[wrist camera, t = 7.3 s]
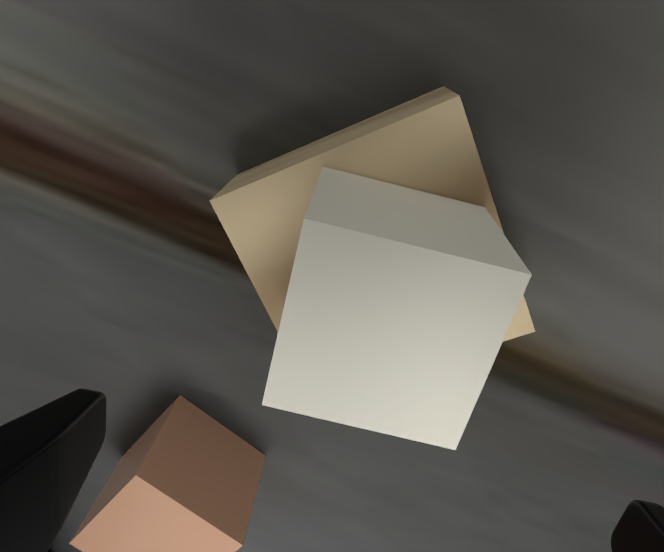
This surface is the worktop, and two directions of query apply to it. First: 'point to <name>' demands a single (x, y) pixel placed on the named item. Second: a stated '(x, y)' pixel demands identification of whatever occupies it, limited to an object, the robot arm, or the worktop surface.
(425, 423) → the cream cube
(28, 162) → the worktop surface
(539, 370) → the worktop surface
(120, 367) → the worktop surface
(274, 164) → the oak slab
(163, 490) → the terracotta cube
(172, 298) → the worktop surface
